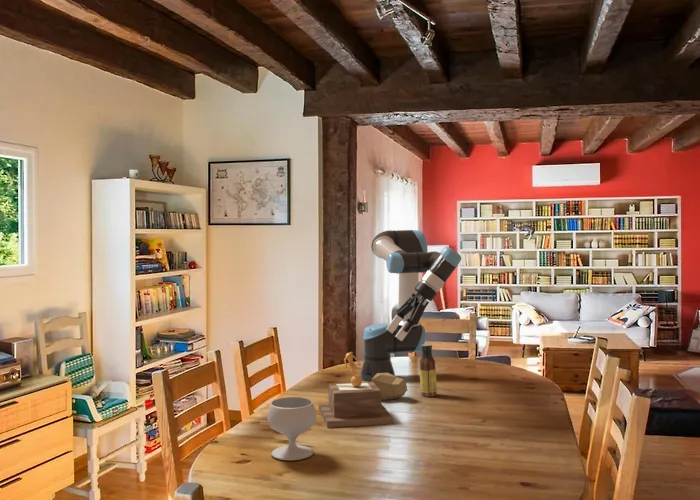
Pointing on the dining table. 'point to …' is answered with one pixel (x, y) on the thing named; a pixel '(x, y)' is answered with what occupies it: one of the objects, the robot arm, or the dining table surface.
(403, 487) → the dining table surface
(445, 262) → the robot arm
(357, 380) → the figurine
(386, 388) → the low-poly potato
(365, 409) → the pedestal
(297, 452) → the chalice
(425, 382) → the sauce bottle
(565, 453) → the dining table surface
